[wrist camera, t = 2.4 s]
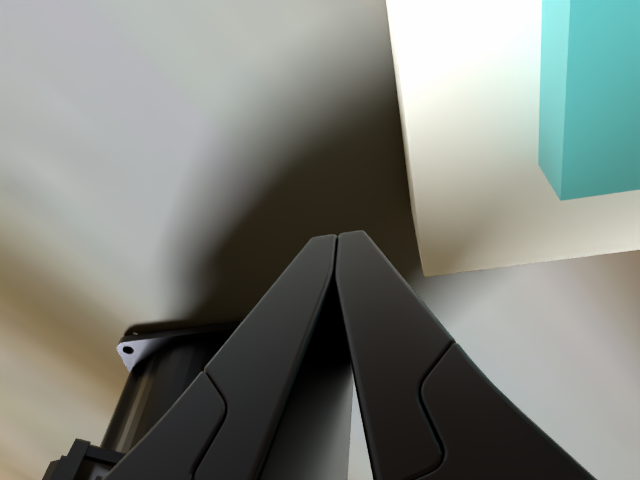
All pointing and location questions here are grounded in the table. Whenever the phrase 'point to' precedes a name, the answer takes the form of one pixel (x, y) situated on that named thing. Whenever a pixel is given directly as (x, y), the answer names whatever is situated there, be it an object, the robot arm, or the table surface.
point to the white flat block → (487, 142)
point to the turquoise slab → (590, 97)
